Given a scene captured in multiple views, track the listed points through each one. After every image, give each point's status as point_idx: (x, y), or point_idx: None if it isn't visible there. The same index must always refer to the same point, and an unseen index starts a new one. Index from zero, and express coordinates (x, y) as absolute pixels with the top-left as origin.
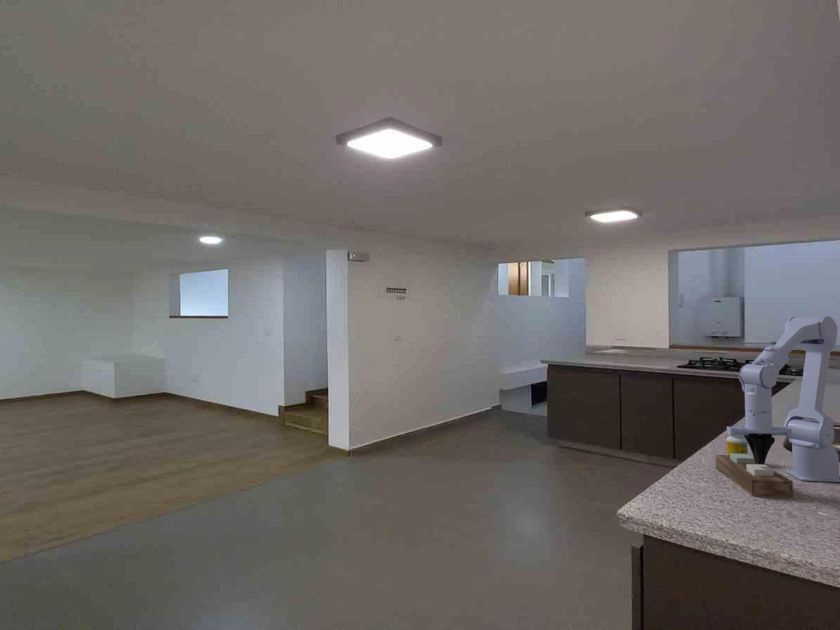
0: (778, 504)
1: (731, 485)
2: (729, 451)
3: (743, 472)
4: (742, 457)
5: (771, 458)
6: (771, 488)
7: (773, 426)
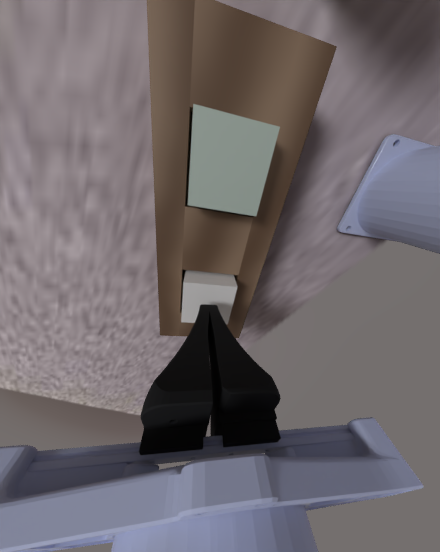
0: None
1: (150, 256)
2: None
3: (165, 293)
4: (217, 196)
5: None
6: None
7: (361, 496)
